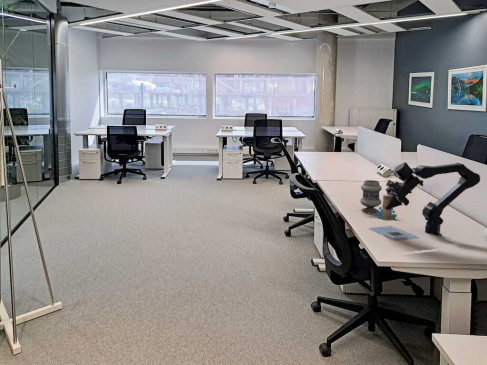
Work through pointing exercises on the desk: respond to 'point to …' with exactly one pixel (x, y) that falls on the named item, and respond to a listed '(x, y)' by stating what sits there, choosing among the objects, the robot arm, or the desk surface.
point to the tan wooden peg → (385, 213)
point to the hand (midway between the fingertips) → (384, 208)
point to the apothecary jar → (370, 195)
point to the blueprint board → (389, 229)
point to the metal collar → (390, 234)
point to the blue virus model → (381, 214)
